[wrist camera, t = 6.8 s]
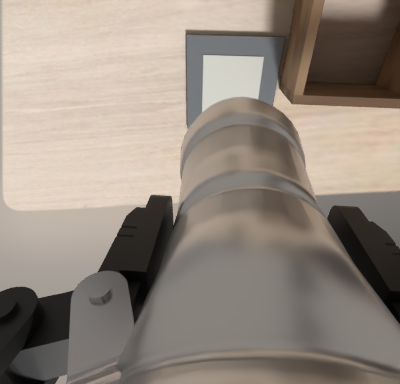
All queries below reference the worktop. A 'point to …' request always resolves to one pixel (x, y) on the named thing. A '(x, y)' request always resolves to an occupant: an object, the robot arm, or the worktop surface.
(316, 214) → the plastic bottle
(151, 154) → the worktop surface
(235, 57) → the mat
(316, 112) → the worktop surface
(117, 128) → the worktop surface
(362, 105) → the crate
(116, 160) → the worktop surface
